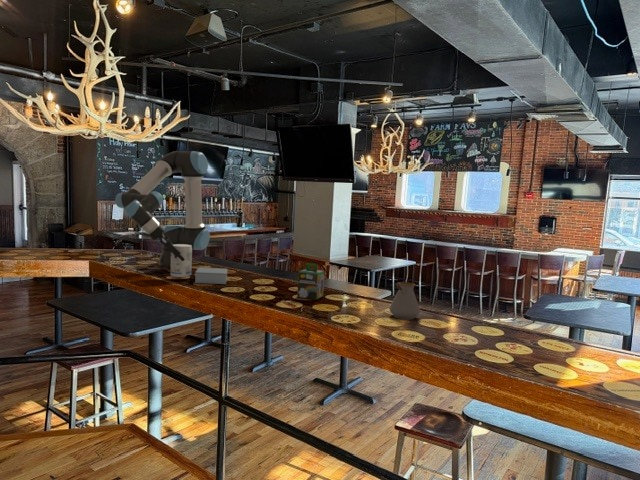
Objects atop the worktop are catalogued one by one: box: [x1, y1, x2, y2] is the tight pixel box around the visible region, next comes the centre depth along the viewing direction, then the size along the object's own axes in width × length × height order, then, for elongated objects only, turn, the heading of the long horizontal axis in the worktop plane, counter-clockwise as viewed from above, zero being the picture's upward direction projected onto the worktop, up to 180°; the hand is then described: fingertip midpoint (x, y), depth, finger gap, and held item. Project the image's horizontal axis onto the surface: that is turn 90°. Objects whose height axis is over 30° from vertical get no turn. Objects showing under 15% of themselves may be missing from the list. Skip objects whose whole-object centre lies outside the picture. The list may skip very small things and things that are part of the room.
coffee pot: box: [388, 281, 421, 321], centre depth 161 cm, size 21×12×15 cm, turn 153°
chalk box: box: [296, 262, 325, 301], centre depth 190 cm, size 9×9×15 cm
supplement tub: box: [170, 244, 193, 278], centre depth 209 cm, size 10×10×15 cm
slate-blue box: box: [194, 267, 228, 285], centre depth 212 cm, size 15×14×5 cm
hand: (187, 263), depth 210 cm, fingers closed on supplement tub, 9 cm apart
